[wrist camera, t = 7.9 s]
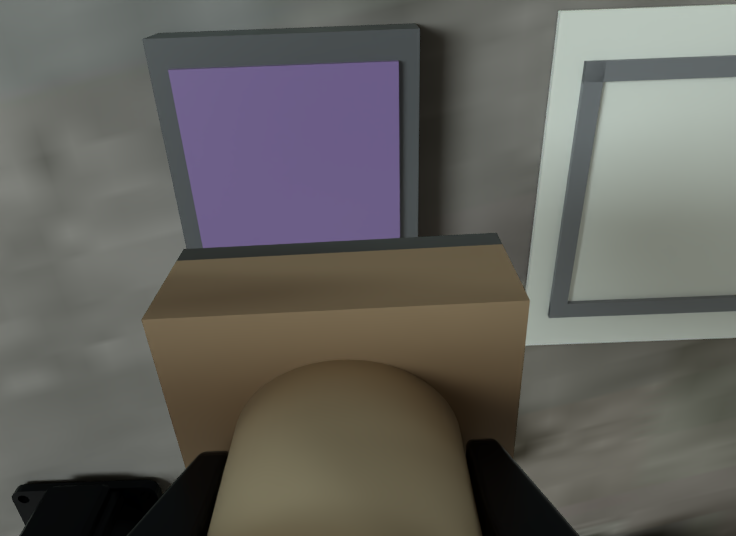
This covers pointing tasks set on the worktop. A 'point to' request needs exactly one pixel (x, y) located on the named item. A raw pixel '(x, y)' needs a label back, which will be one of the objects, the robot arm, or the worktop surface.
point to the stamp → (342, 379)
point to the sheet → (637, 179)
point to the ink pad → (290, 132)
